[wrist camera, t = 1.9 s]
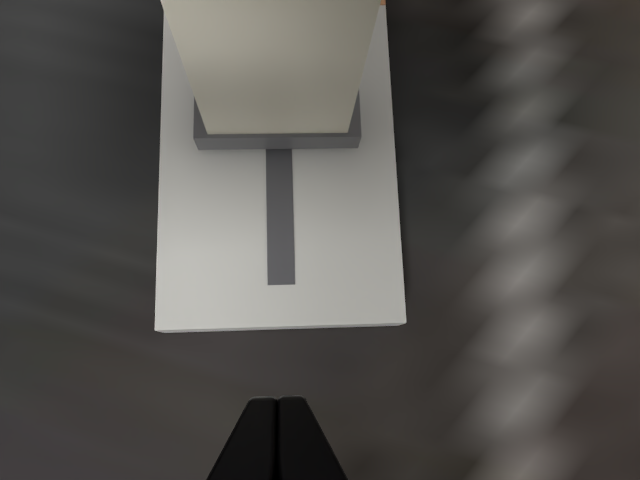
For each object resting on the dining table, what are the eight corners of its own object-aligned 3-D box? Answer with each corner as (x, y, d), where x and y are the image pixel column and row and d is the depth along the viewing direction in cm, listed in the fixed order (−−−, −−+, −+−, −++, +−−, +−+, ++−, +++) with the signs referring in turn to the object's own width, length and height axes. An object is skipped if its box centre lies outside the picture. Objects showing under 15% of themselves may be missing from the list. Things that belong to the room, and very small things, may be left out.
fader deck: (398, 325, 22) (406, 322, 20) (163, 332, 21) (154, 330, 20) (377, -14, 25) (382, -38, 24) (172, -15, 25) (165, -40, 23)
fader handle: (357, 148, 21) (428, -74, 11) (198, 149, 21) (102, -79, 10) (354, 80, 22) (417, -196, 11) (199, 81, 22) (109, -203, 11)
